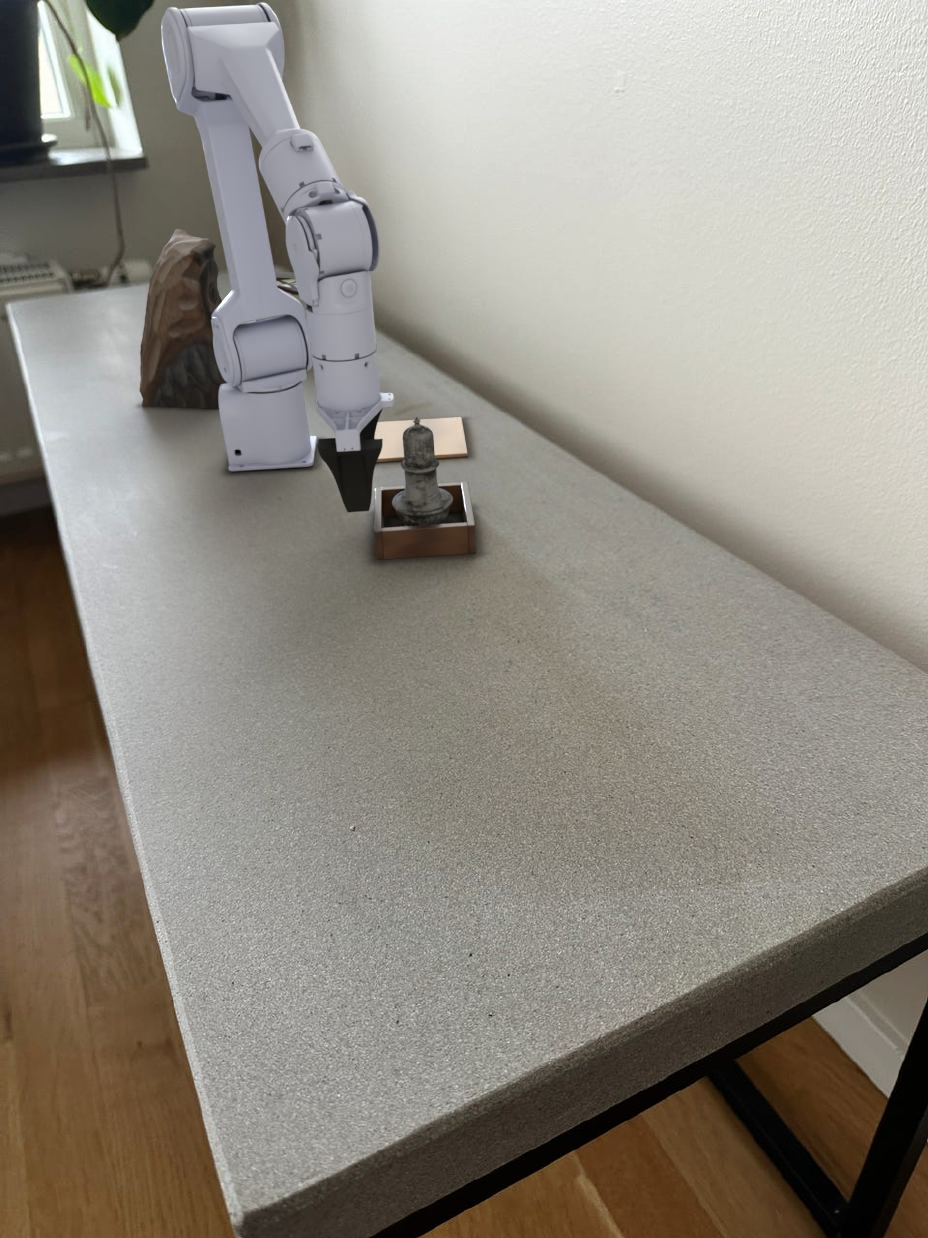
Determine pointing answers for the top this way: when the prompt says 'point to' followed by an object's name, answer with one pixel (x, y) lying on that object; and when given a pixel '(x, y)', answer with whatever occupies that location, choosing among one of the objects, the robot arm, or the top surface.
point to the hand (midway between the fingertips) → (359, 491)
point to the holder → (424, 527)
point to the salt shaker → (421, 481)
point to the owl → (181, 327)
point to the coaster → (444, 431)
